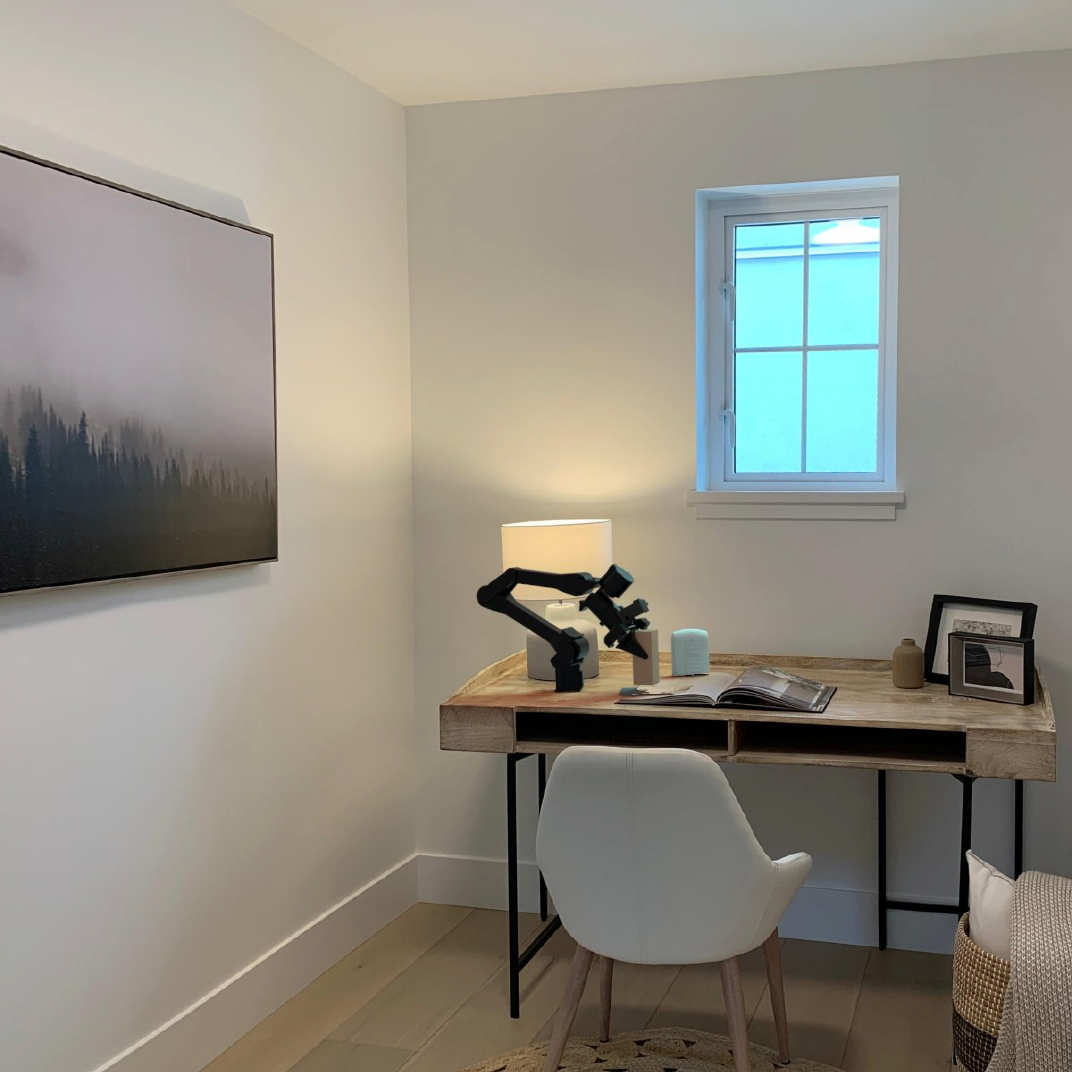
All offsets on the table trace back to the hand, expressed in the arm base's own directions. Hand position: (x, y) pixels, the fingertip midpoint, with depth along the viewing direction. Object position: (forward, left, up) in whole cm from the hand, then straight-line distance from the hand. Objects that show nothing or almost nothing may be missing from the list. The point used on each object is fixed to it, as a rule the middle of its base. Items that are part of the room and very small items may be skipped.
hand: (651, 656), depth 291 cm
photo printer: (+9, +28, -9) cm, 31 cm away
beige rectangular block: (-1, 0, -7) cm, 7 cm away
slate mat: (-1, 0, -9) cm, 9 cm away
